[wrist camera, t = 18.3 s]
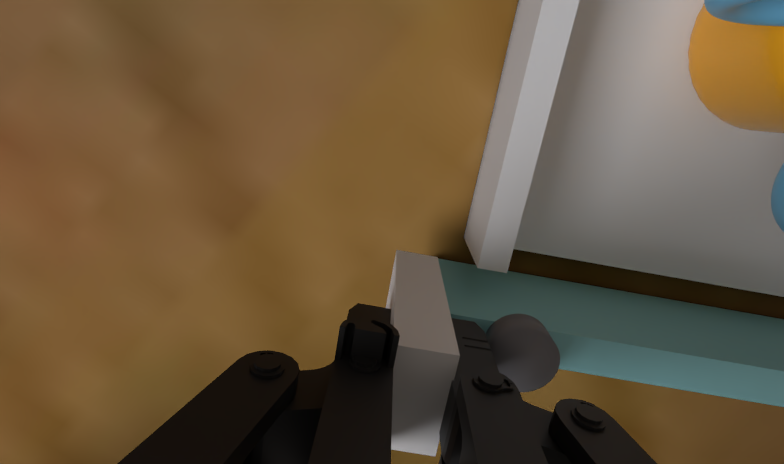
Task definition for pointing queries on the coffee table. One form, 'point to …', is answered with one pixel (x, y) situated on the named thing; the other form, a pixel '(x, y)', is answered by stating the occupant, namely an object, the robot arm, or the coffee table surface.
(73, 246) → the coffee table surface
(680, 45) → the white square tray
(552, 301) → the gate
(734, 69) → the orange tube with rings
